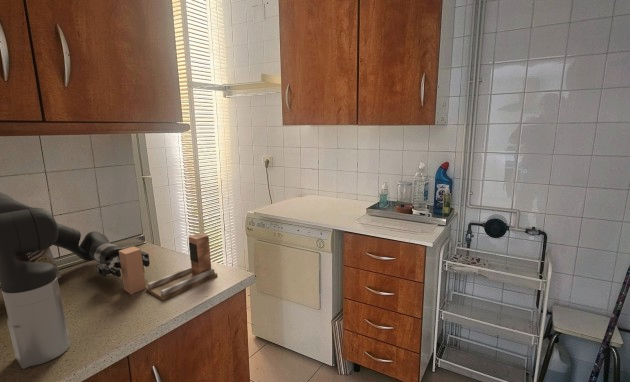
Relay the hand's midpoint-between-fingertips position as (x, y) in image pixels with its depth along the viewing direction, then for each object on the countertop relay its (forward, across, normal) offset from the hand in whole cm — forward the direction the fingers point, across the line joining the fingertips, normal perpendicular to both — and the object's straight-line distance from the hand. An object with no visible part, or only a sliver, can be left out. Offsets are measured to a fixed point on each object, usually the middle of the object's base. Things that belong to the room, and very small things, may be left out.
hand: (134, 268), depth 102 cm
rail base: (+8, -11, -7) cm, 15 cm away
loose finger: (0, 0, -7) cm, 7 cm away
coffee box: (-25, +17, -6) cm, 31 cm away
